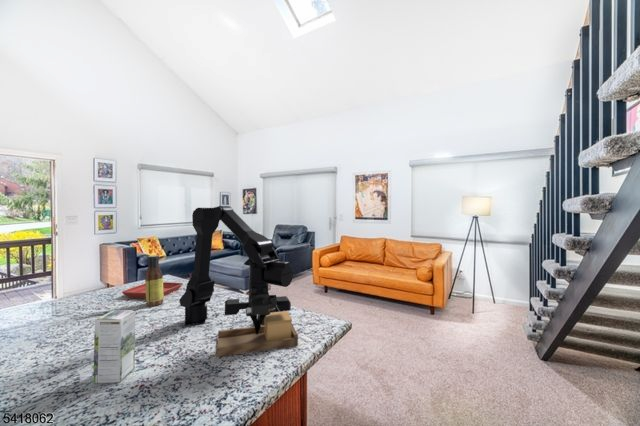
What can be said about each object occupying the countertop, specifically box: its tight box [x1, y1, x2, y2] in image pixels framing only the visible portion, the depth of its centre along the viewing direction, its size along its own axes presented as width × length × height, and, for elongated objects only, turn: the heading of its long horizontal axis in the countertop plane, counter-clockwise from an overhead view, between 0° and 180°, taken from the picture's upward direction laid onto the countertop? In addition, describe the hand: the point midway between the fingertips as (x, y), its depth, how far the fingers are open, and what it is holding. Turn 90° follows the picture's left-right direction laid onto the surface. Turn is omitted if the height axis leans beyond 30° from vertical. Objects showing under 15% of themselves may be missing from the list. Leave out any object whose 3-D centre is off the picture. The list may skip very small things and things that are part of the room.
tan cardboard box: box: [265, 311, 293, 341], centre depth 84 cm, size 7×7×6 cm
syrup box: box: [92, 309, 136, 385], centre depth 65 cm, size 6×6×14 cm
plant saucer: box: [121, 281, 184, 299], centre depth 129 cm, size 18×18×3 cm
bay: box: [216, 322, 299, 358], centre depth 82 cm, size 22×12×3 cm, turn 108°
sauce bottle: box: [144, 254, 165, 307], centre depth 114 cm, size 7×6×20 cm
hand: (257, 334), depth 82 cm, fingers closed
